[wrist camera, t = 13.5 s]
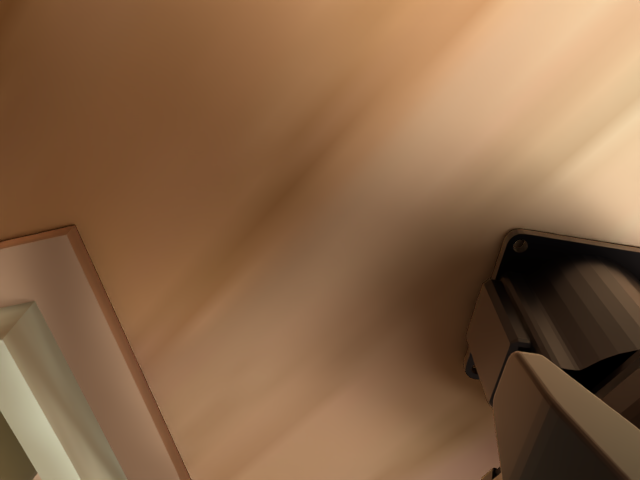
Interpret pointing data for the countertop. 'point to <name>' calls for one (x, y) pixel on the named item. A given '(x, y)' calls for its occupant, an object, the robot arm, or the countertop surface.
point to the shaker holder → (74, 370)
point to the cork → (13, 456)
